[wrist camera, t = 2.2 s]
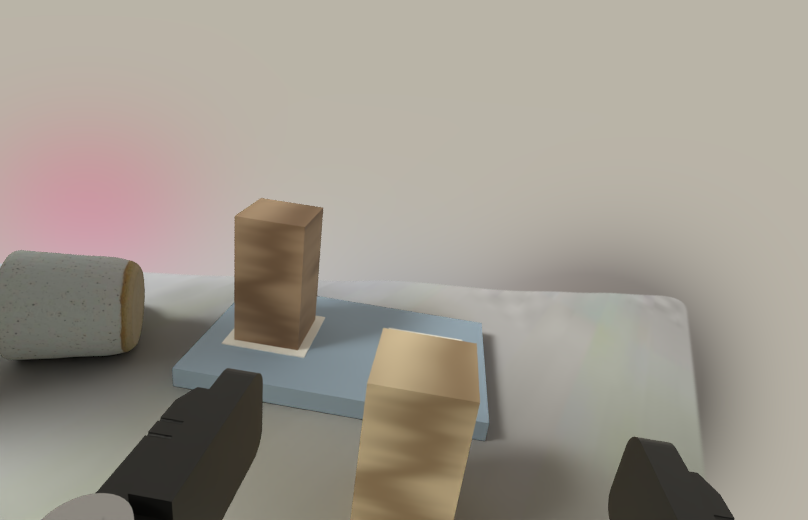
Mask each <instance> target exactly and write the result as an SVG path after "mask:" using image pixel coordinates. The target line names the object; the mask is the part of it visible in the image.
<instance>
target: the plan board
mask: <svg viewBox="0 0 808 520" xmlns="http://www.w3.org/2000/svg"><path fill="white" fill-rule="evenodd" d="M383 328H387V329H393V330H399V331H405V332H411V333H417V334H423V335H429V336H435V337H441V338H447V339H453V340H459V341H465V342H471V343H477V356H478V374H479V392H480V405H479V410H478V414H477V418H476V423H475V427H474V432H473V436H472V439H477V440H482V441H485V439H486V434H487V430H488V426H489V415H488V402H487V389H486V376H485V363H484V350H483V336H482V323H478V322H471V321H465V320H459V319H453V318H447V317H441V316H435V315H429V314H423V313H417V312H411V311H405V310H399V309H393V308H386V307H380V306H374V305H368V304H362V303H356V302H350V301H344V300H338V299H332V298H326V297H320V296H317V302H316V316H315V321H314V323H313V324H312V326H311V328H310V330H309V332H308V333H307V335H306V337H305V339H304V340H303V342H302V344H301V346H300V347H299V349H298V350H292V349H286V348H281V347H275V346H269V345H263V344H257V343H251V342H245V341H240V340H234V303H233V304H232V305H231V306H230V307H229V308H228V309H227V311H226V312H225V313H224V314H223V315H222V316H221V317H220V318H219V319H218V320H217V321H216V322H215V323H214V324H213V325H212V326H211V327H210V329H209V330H208V331H207V332H206V333H205V334H204V335H203V336H202V337H201V338H200V339H199V340H198V341H197V342H196V343H195V344H194V345H193V347H192V348H191V349H190V350H189V351H188V352H187V353H186V354H185V355H184V356H183V357H182V358H181V359H180V360H179V361H178V362H177V363H176V365H175V366H174V367H173V368H172V374H173V386H176V387H182V388H188V389H195V388H196V387H201V388H206V389H210V387H211V386H212V385H213V384H214V382H215V381H216V380H217V378H218V377H219V376H220V375H221V373H222V372H223V371H224V370H225V369H226V368H231V369H237V370H243V371H249V372H255V373H260V374H261V375H262V378H263V402H267V403H273V404H278V405H284V406H290V407H295V408H301V409H307V410H312V411H318V412H324V413H329V414H335V415H341V416H346V417H352V418H358V419H363V413H364V404H365V396H366V388H367V382H368V378H369V375H370V372H371V368H372V365H373V361H374V358H375V355H376V351H377V348H378V344H379V341H380V338H381V334H382V331H383Z"/></svg>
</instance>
